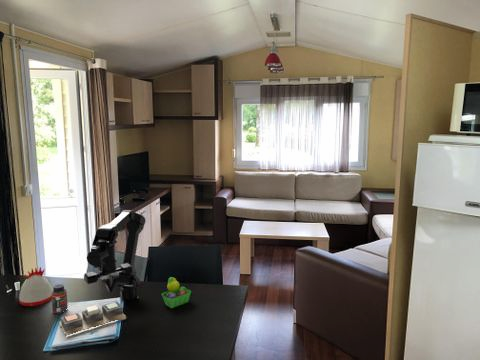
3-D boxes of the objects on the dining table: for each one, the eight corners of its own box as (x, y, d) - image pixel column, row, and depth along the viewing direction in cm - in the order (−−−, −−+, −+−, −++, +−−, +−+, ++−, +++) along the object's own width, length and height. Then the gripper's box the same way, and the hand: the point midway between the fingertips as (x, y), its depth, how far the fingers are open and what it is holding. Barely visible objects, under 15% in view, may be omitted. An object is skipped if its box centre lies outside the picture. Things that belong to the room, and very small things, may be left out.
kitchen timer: (55, 300, 174) (53, 269, 171) (21, 309, 166) (17, 276, 164) (50, 289, 185) (48, 260, 183) (18, 297, 177) (15, 266, 175)
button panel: (116, 307, 166) (115, 298, 166) (126, 318, 157) (125, 309, 156) (59, 324, 153) (58, 314, 152) (66, 337, 143) (65, 327, 143)
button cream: (96, 311, 157) (95, 305, 157) (99, 315, 154) (98, 308, 154) (86, 314, 155) (85, 307, 154) (89, 318, 152) (88, 311, 151)
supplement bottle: (61, 314, 160) (59, 289, 159) (49, 313, 162) (47, 288, 160) (70, 308, 166) (69, 283, 165) (58, 306, 167) (56, 282, 166)
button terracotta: (76, 320, 153) (75, 313, 152) (78, 324, 149) (78, 318, 149) (65, 323, 150) (64, 317, 150) (67, 327, 147) (67, 321, 147)
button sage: (115, 308, 162) (115, 302, 162) (118, 312, 159) (118, 306, 159) (106, 311, 160) (105, 305, 159) (109, 315, 157) (108, 308, 156)
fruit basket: (170, 310, 164) (169, 285, 162) (159, 303, 170) (158, 279, 169) (192, 302, 171) (191, 278, 169) (181, 295, 178) (180, 272, 176)
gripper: (122, 247, 168) (124, 280, 171) (78, 256, 157) (81, 292, 159) (132, 253, 159) (134, 288, 162) (86, 264, 148) (89, 301, 151)
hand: (110, 292), depth 159 cm, fingers closed
